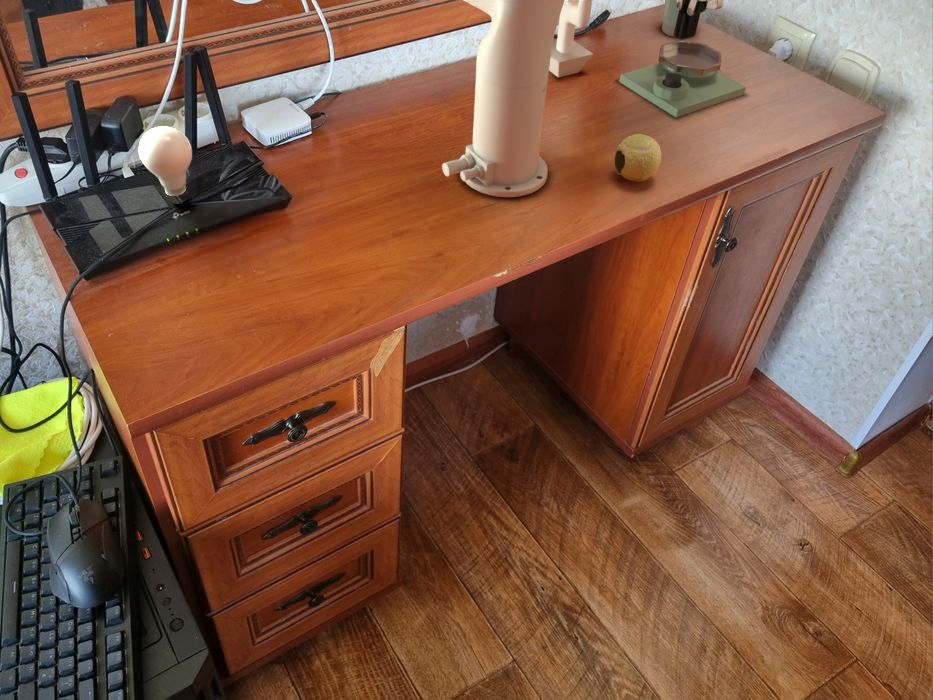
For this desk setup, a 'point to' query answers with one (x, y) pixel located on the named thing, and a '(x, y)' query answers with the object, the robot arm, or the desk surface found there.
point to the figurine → (570, 39)
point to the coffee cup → (670, 17)
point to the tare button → (672, 80)
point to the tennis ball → (637, 157)
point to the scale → (681, 89)
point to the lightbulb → (167, 157)
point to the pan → (689, 59)
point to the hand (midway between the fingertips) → (683, 36)
